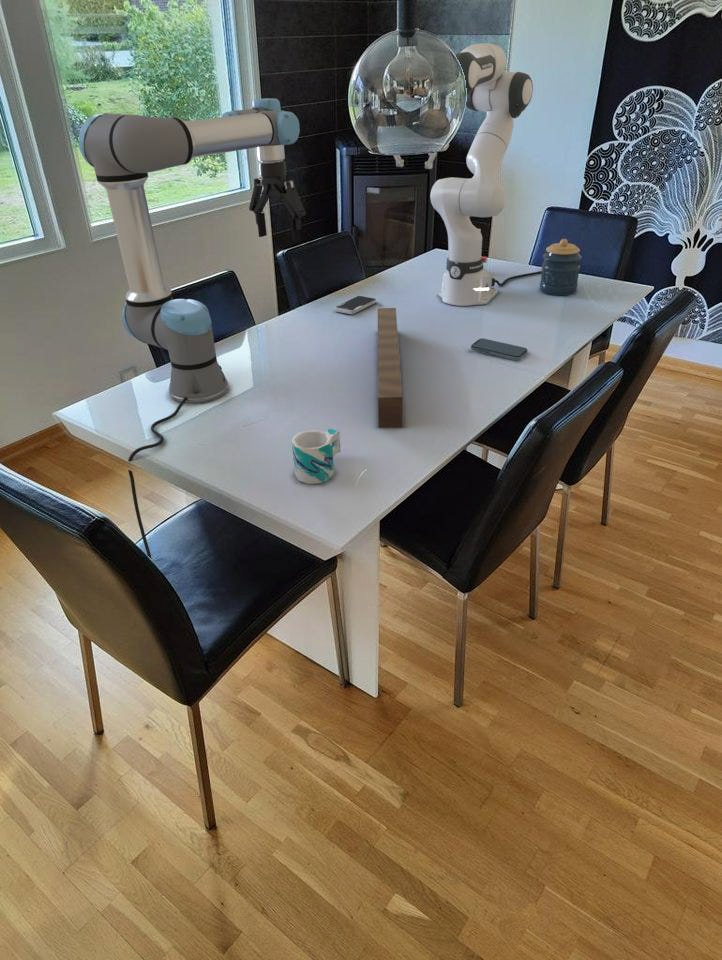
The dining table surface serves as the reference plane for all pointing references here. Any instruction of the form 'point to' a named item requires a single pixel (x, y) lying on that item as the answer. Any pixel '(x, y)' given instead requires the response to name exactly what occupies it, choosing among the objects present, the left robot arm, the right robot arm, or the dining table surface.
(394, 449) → the dining table surface
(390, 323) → the beam
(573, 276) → the canister
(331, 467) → the mug
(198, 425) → the dining table surface
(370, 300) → the smartphone
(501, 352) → the smartphone
